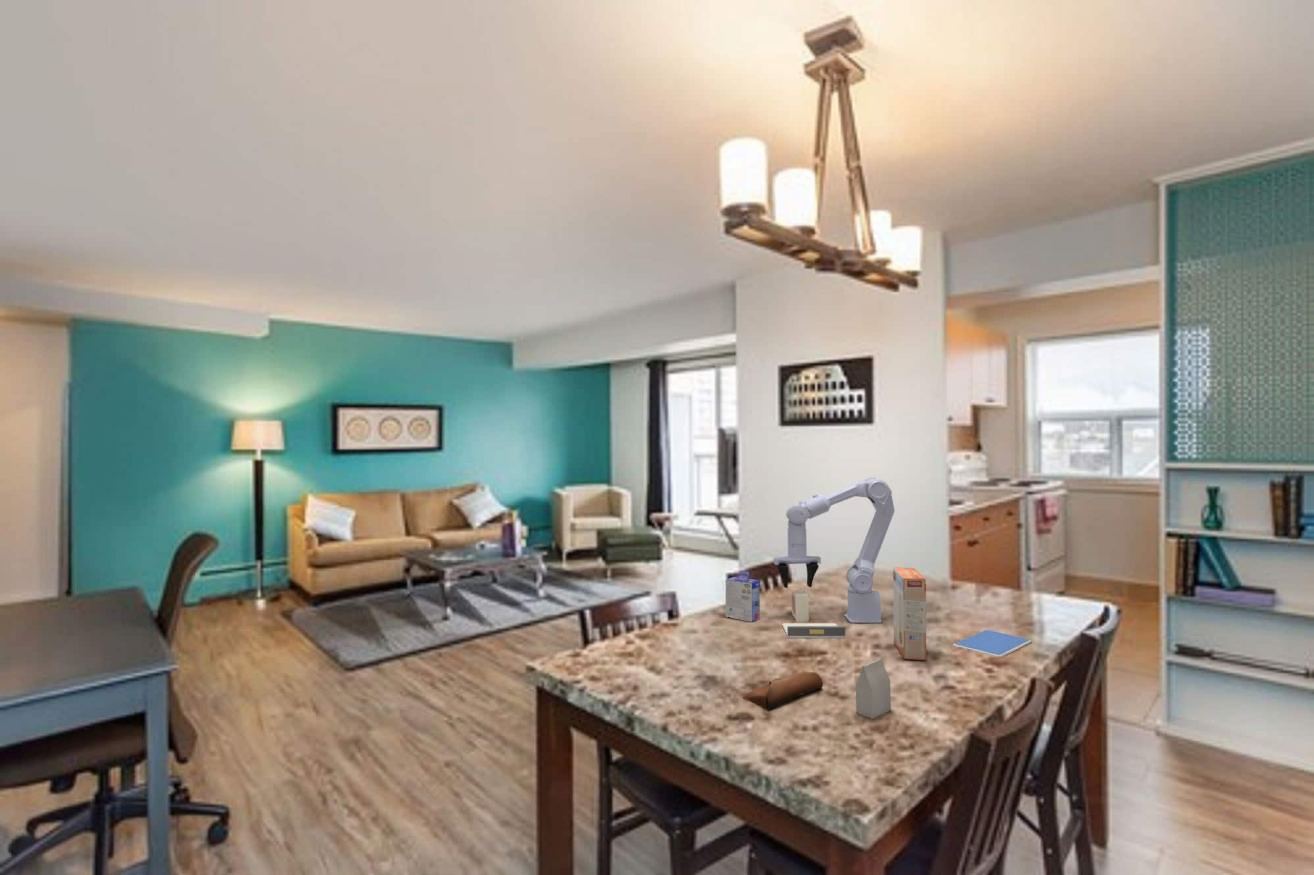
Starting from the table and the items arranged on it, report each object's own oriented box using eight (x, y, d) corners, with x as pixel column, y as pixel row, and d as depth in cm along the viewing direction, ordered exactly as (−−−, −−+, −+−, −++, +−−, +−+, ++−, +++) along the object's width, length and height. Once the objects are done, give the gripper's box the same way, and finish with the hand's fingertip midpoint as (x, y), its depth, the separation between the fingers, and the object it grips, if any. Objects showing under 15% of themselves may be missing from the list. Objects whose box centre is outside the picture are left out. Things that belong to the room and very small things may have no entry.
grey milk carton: (890, 709, 128) (889, 661, 128) (872, 718, 124) (871, 669, 124) (874, 703, 131) (874, 656, 131) (856, 712, 127) (855, 664, 127)
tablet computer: (1000, 660, 157) (1000, 655, 157) (951, 647, 167) (951, 642, 167) (1032, 644, 168) (1032, 639, 168) (985, 633, 178) (985, 628, 178)
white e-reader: (835, 625, 186) (835, 615, 186) (845, 638, 174) (845, 627, 174) (781, 625, 187) (781, 615, 187) (788, 638, 175) (788, 627, 175)
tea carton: (804, 614, 198) (804, 589, 198) (809, 621, 191) (808, 595, 191) (791, 614, 198) (791, 589, 198) (795, 621, 191) (794, 595, 191)
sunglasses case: (793, 677, 146) (805, 657, 143) (815, 700, 141) (826, 680, 139) (739, 698, 135) (750, 676, 132) (760, 724, 130) (772, 702, 128)
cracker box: (928, 661, 155) (926, 578, 155) (902, 660, 156) (901, 577, 156) (916, 643, 169) (915, 566, 169) (893, 642, 170) (891, 566, 170)
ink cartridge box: (761, 618, 195) (760, 572, 195) (752, 622, 191) (751, 575, 191) (733, 613, 201) (733, 568, 201) (725, 617, 196) (724, 572, 197)
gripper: (815, 540, 199) (815, 583, 199) (771, 541, 197) (771, 584, 197) (823, 544, 192) (823, 588, 192) (777, 545, 190) (777, 589, 190)
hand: (797, 586), depth 194 cm, fingers open, 7 cm apart
